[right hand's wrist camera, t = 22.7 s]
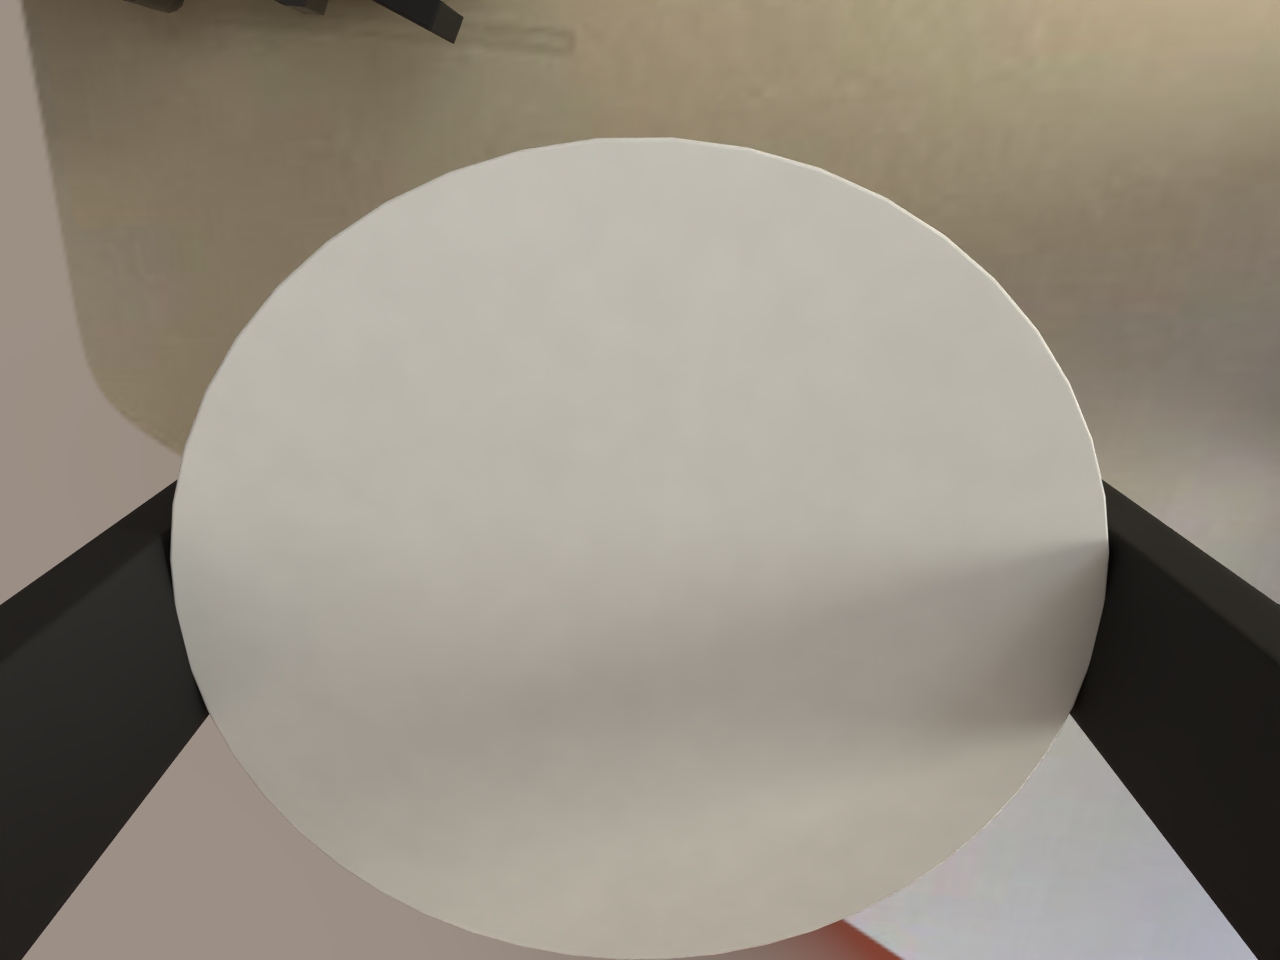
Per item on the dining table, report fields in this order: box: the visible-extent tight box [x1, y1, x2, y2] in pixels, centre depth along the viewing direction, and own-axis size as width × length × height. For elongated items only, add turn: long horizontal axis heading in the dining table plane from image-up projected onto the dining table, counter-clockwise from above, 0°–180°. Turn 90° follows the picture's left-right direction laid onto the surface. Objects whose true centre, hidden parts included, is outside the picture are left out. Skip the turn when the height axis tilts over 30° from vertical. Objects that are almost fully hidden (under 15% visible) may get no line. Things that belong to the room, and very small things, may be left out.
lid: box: [170, 137, 1109, 959], centre depth 11 cm, size 12×12×2 cm
